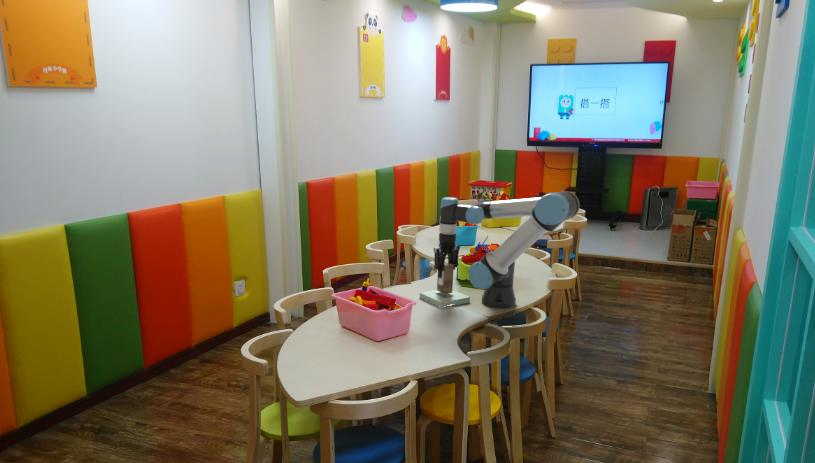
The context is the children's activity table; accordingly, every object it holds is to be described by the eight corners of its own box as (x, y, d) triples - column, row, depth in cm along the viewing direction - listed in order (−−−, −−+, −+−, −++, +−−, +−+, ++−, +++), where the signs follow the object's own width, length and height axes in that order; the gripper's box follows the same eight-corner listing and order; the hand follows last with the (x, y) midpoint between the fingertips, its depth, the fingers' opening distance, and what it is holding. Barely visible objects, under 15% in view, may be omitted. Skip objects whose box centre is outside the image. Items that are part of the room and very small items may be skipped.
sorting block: (469, 302, 257) (469, 297, 257) (441, 308, 248) (441, 302, 248) (447, 292, 270) (447, 287, 269) (419, 298, 261) (419, 292, 260)
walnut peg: (452, 292, 257) (453, 264, 255) (445, 293, 255) (446, 265, 252) (443, 289, 262) (445, 261, 259) (436, 290, 260) (438, 262, 257)
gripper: (457, 229, 261) (454, 279, 265) (427, 232, 251) (424, 284, 256) (468, 232, 255) (465, 283, 259) (437, 236, 245) (435, 288, 250)
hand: (445, 283), depth 258 cm, fingers closed on walnut peg, 4 cm apart
